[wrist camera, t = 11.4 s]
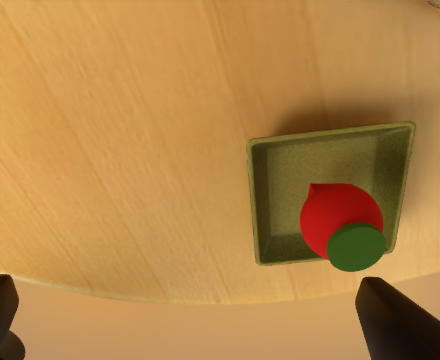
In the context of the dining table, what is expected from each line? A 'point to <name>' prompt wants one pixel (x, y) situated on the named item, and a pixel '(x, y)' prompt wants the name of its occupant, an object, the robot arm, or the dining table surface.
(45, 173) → the dining table surface
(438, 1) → the omelette plate
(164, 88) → the dining table surface
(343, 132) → the green shallow tray
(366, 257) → the strawberry
